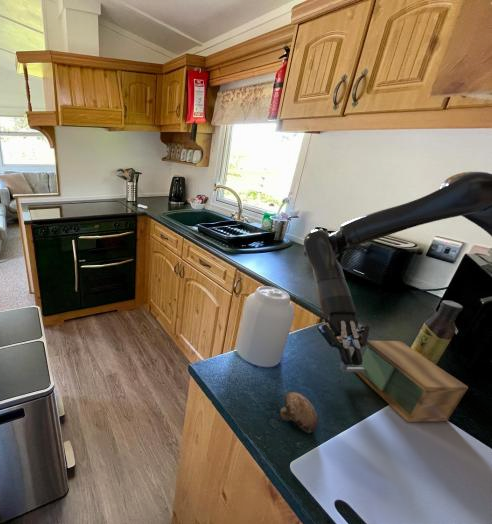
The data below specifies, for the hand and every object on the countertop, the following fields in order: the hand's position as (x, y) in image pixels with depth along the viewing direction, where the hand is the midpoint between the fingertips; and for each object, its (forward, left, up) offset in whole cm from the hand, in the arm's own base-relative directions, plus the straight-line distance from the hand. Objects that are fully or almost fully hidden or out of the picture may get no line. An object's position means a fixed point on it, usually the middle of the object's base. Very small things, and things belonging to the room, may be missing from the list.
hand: (353, 364), depth 72 cm
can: (+22, 0, -6) cm, 23 cm away
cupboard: (-11, -2, -6) cm, 13 cm away
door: (-3, -1, -5) cm, 5 cm away
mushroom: (+12, +20, -6) cm, 24 cm away
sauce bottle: (-22, -22, -6) cm, 32 cm away
